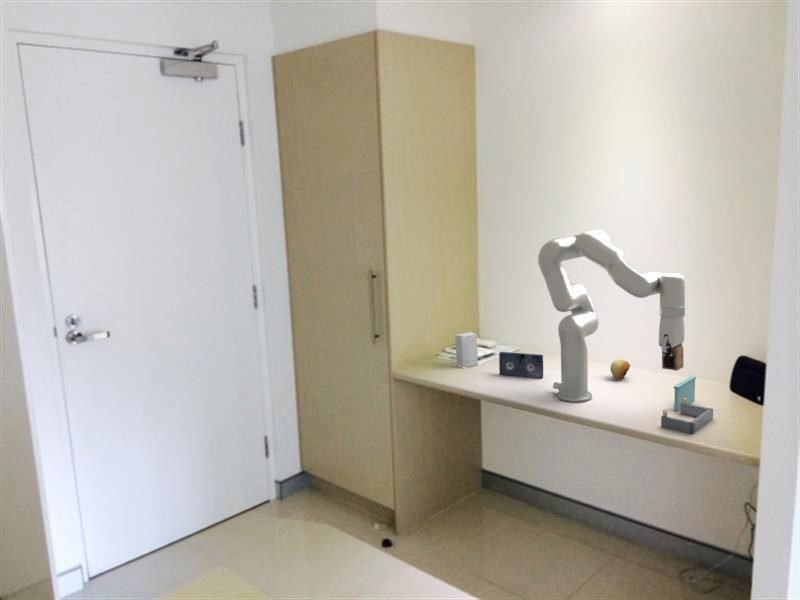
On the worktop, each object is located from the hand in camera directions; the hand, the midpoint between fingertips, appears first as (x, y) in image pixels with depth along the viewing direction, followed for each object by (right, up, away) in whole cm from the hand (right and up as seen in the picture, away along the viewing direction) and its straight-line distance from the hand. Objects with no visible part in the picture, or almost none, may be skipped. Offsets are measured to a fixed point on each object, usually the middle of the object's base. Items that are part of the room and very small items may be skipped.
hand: (672, 364), depth 213 cm
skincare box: (-60, -8, +77) cm, 98 cm away
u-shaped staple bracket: (+4, -19, -2) cm, 19 cm away
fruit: (-1, -11, +47) cm, 48 cm away
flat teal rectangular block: (+10, -16, +14) cm, 23 cm away
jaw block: (0, -1, 0) cm, 1 cm away
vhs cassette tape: (-39, -11, +57) cm, 70 cm away
